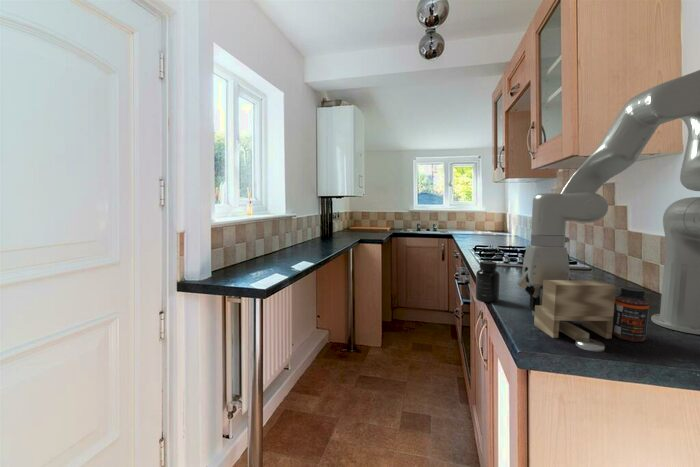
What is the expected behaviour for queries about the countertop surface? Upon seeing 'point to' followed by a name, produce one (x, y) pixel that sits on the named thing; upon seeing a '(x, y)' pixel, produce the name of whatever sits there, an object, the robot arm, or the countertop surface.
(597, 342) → the steel token
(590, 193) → the robot arm
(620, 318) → the supplement bottle
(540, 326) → the oak step stool
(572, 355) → the countertop surface
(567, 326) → the grey rectangular block
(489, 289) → the supplement bottle
